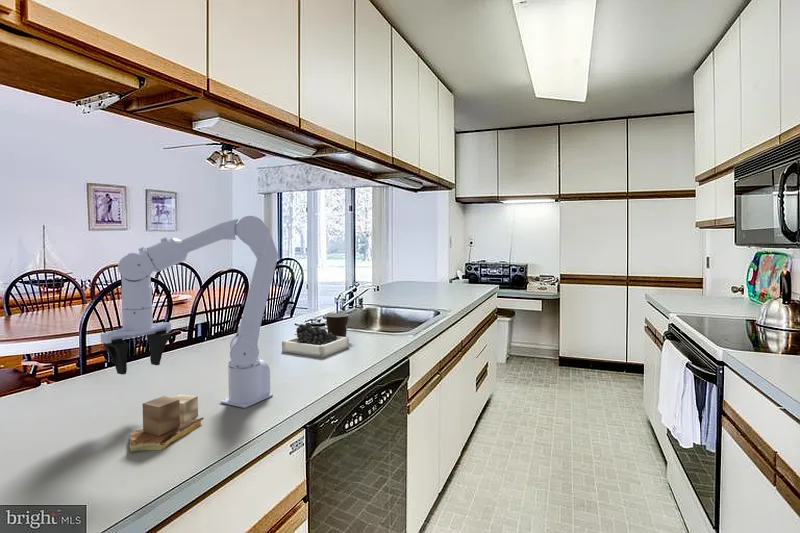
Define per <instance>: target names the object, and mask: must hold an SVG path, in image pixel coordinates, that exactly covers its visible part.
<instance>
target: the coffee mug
mask: <svg viewBox="0 0 800 533" xmlns="http://www.w3.org/2000/svg"><path fill="white" fill-rule="evenodd" d="M325 320H326V321H325V322H326V327H327V328H326V329H327V330H326V331H327V333H332V335H333V336H341V337H347V333H348V332H347V331H348V330H347V329H348V321H349V314H348V313H341V312H339V313H338V312H337V313H336V312H335V313H327V314H325Z"/></svg>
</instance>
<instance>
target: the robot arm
mask: <svg viewBox="0 0 800 533" xmlns="http://www.w3.org/2000/svg"><path fill="white" fill-rule="evenodd" d="M236 236H237V237H238V239H240V241H242V243H245V245H247V246H248V247H249V248H250V250H251V252H252V253H253V254H254V257H256V261H255V266H254V269H253V273H252V277H251V280H250V284H249V288H248V292H247V296H246V301H245V304H244V309H243V313H242V316H241V319H240V323H239V325H238V329H237V332H236V334H235V335H234V337H233V338H232V339H231V341H230V343H229V344H230V345H229V348H230V351H229V358H230V361H228V367H227V368H228V373H227V375H228V379H227V380H228V396H227V397H226V398H223V399H220V404H221V403H222V404H225V405H230V406H234V407H237V408H242V409H245V408H248V407H250V406H253V405H254V404H257V403H260V402H262V401H263V400H264V401H265V399H268V398H271V397H273V395H274V394H273V392H271V368H270V366H269V363H267V361H266V360H264V359H260V358H259V356H260V350H259V347H258V342H259V338H260V330H261V326H262V321H263V318H264V313H265V310H266V306H267V302H268V301H267V300H268V298H269V294H270V289H271V286H272V282H273V278H274V274H275V270H276V266H277V262H278V258H279V252H278V249H277V247H276V244H275V242H274V240H273V237H272V235H271V230H270V229H269V227H268V226H267V225H266V224H265V222H264V221H263V220H262V219H261V218H260V217H257V216H256V215H246V216H243V217H241V219H240V220H239V218H235V219H232V220H228V221H224V222H220V223H217V224H216V225H214V226H212V227H209V228H207V229H205V230H202V231H200V232H198V233H195V234H193V235H191V236H189V237H186V238H184V239H179V238H177V237H170V238H168V237H167V236H165V237H163V238H160V241H161V242H158V243H156V244H152V245H151V246H148V247H146V248H145V247H144V246H143V247H140V248H138V252H139V253H137V252H136V253H135V252H130V253H128V254H127V255H124V256H123V257H122V258H120V260H119V261H118V264H117V271H118V273H119V275H120V276H121V292H120V294H121V316H122V318H121V322H122V325H121V326H122V328H118V329H115V330H111V331H107V332H103V333H100V343H102V344H103V347H104V348H105V350H106V351H107V352H108V354H109V356H110V358H111V359H112V362H113V365H114V367H115V370H116V373H117V374H118V375H121V376H122V375H126V374H127V370H128V368H127V367H128V364H127V361H128V359H127V357H128V351H129V350H128V349H129V347H130V343H128V342H125V341H124V340H128V339H134V338H138V337H143V336H146V338H147V341H148V345H149V346H148V347H149V357H150V364H151V366H160V364H161V360H162V356H163V353H164V350H165V347H166V344H168V341H169V339H170V338H171V333H170V332H172V322H167V321H165V322H163V321H162V322H157V323H155V322H154V320H153V289H152V288H153V287H152V283H151V282H152V280H151V277H152V276H151V275H152V273H153V272H154V273H159V272H161V271H164V270H166V269H169V268H170V267H172V266H175V265H177V264H180V263H182V262H185V261H186V260H187V257H188V254H189V253H191V252H192V251H193V252H194V251H196V250H198V249H200V248H201V249H202V248H204V247H206V246H209V245H211V244H214V243H216V242H218V241H223V240H232V241H235V240H236V239H237V238H236Z"/></svg>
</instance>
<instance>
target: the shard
mask: <svg viewBox="0 0 800 533" xmlns="http://www.w3.org/2000/svg"><path fill="white" fill-rule="evenodd" d="M203 420H204V417H201V418H194V419H192V420H189V421H184V422H180V427H179V428H176V429H174V430H172V431H169V432H167V433H165V434H162V435H160V436H158V435H154V434H150V433H147V432H143V428H141V429H138V430H137V429H136V430H134V431H133V432H131V433H130V442H129V448H130V453H134V452H138V451H163V450H164V449H166V447H168V446H169V445H170V444H171V443H173V442H175V441H177V440H178V439H181V438H182V437H184V436H185V435H187V434H189V433H190V432H192V431H194V430H195V429H196V428H198V427H199V426H200V425H201V424H202V421H203Z"/></svg>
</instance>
